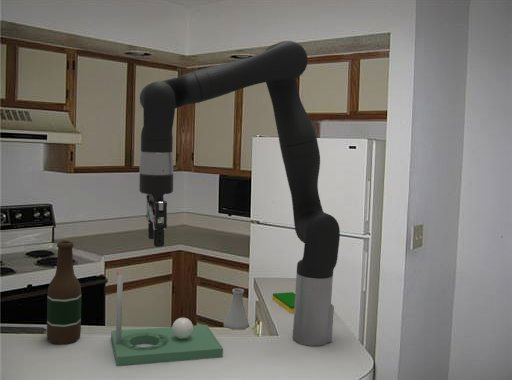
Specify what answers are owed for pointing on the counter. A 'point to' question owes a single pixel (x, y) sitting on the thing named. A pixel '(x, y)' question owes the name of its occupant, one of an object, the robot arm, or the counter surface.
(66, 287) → the beer bottle
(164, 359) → the putting board
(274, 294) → the dish sponge
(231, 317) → the flask
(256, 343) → the counter surface
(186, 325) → the ball
